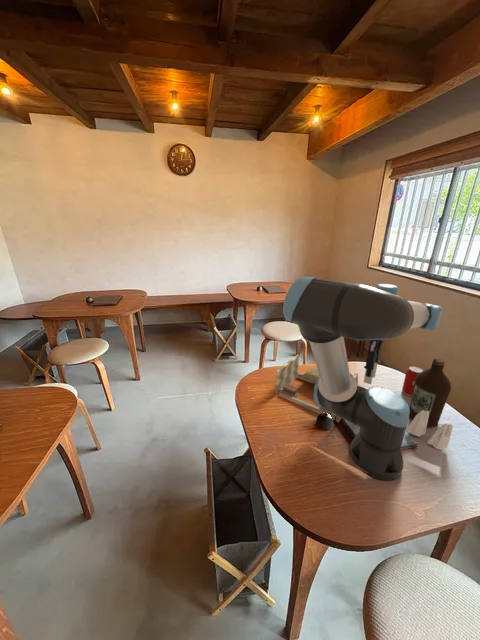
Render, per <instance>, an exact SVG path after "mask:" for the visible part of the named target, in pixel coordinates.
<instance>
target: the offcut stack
mask: <svg viewBox="0 0 480 640" xmlns="http://www.w3.org/2000/svg"><path fill="white" fill-rule="evenodd" d="M298 390H299V387H296V386H293V385H291V384H285V385H284V386H283V388H282V389H281V391H280V392H283V393H285V394H288V395H290V396H292V397H295V398H298V396H299V394H300V393H299V391H298Z"/></svg>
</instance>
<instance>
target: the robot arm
mask: <svg viewBox="0 0 480 640" xmlns="http://www.w3.org/2000/svg"><path fill="white" fill-rule="evenodd" d="M282 311H283V316H284V319H285V320H286V321H288V322H290V324H296V325H297V326H298V330H299V332H300V335H301V337H302V338H303V339H304V340H306V341H307V342H309V345H310V348H311V350H312V355H313V358H314V362H315V365H316V368H318V372H319V375H320V377H319V378H318V380H317V382H316V384H314V388H313V391H314V392H313V400H314V402H315V404H316V406H317V407H319V408H320V407H321V408H323V409H324V410H326V411H329V412H331V413H333V414H335V415H337V416H339V417H341V419H342V420H345V421H348V422H349V423H352V424H353V425H355V426H357V427H359V431H358V433H357V434H356V435H355V436H354V438H353V439H352V440H351V443H350V447H349V453H350V454H349V455H350V457H351V458H352V460H353V462H354V463H355V464H356V465H357V466H358V467H359V468H360V469H362V470H361V472H362V473H364V474H365V475H368V476H369V477H372V478H373V479H377V480H381V481H393V480H396V479H398V478H399V477H401V475H402V473H403V469H404V458H403V452H402V446H403V441H404V437H405V434H406V427H407V426H408V425H409V421H410V420H409V419H410V417H409V413H410V410H409V408H410V405H409V404H408V403H407V402H406V400H405V398H403V397H402V396H401V395H400V394H398V393H397V392H395V391H393V390H392V389H389V388H387V387H383V386H380V387H379V386H372V387H369V388H365V387H362V386H360V385H358V384H357V382H356V380H355V378H354V377H353V375H354V374H352V373H351V372H350V366H349V362H348V361H349V360H348V355H347V348H346V343H345V339H348V340H349V339H350V340H356V341H358V340H359V341H369V345H368V350H367V357H366V361H365V365H364V366H363V368H364V369H365V372H364V378H363V383H366V384H369V385H371V384H372V382H373V381H372V380H373V378H376V374H377V368H378V364H379V363H380V362H381V360H380V355H381V351H382V347H383V344H384V340H388V339H395V338H398V337H400V336H403V335H404V334H405V333H407V332H408V331H409V330H411V329H415V328H417V329H418V328H419V329H422V330H427V331H428V330H429V331H436V330H437V329H438V327H439V325H440V324H441V323H440V322H441V319H442V316H443V307H441V306H439V305H436V304H433V303H432V304H431V303H425V302H420V301H412V300H408V299H406V298H404V297H402V296H401V295H399V287H398V286H397V285H394V284H390V283H378V284H376V285H375V286H370V285H367V284H363V283H354V282H347V281H341V280H332V279H324V278H319V277H318V276H300V277H298V278H297V279H296V280H294V281H293V283H292V284H291V285H290V286H289V288H288V290H287V292H286V294H285V298H284V301H283V307H282Z"/></svg>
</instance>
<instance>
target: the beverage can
mask: <svg viewBox="0 0 480 640" xmlns="http://www.w3.org/2000/svg"><path fill="white" fill-rule="evenodd" d="M422 371H424V370H423V369H422V368H421V367H419V366H409V367H408V368H407V369H406V371H405V376H404V378H403V379H404V380H403V385H402V389H401V390H402V392H403V394H405V395H406V396H408V397H411V398H412V393H413V388H414V382H415V378H416V377H417V375H418V374H419V373H420V372H422Z"/></svg>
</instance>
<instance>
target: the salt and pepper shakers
mask: <svg viewBox="0 0 480 640" xmlns="http://www.w3.org/2000/svg"><path fill="white" fill-rule="evenodd" d="M428 417H429V411H424V410H422V411H421V412H419V413H418V414H417V415H416V416H415V418H414V419H413V421H412V420H411V422H410V423H408V425H407V426H406V430H405V432H406V433H409V434H411V435H414V436H416V437H418V438H420V437H422V436H425V435H426V432H427V428H428V427H427V422H428ZM453 427H454V426H453V424H452V423H449V424H448V423H447V422H445V423H443V424H442V425H441V426H439V427H438V428H437V429H436V430H435V432H434V434H433V435H432V436H431V437H430V438H429V439H428V440H426V443H427V444H428V445H431V446H433V448H434V449H437V450H440V451H443V450H444V449H448V446H449V443H450V440H451V436H452V432H453Z"/></svg>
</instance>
